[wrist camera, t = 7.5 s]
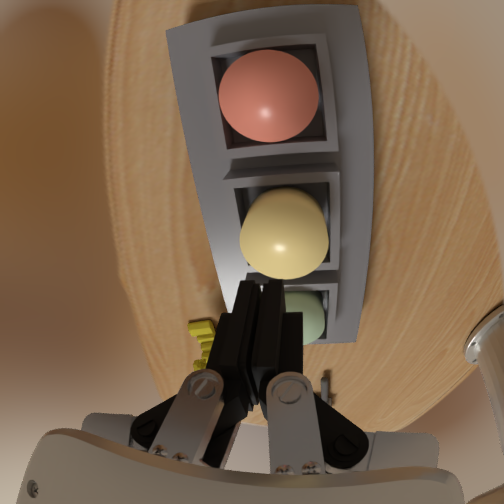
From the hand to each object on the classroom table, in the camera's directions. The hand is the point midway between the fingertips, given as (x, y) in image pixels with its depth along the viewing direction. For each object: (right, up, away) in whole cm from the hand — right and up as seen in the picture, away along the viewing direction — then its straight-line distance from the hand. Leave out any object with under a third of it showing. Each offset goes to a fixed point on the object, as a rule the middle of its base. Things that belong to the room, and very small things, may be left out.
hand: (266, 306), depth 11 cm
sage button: (+3, -2, +11) cm, 12 cm away
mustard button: (+2, +4, +6) cm, 8 cm away
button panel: (+2, +6, +10) cm, 12 cm away
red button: (+1, +11, +3) cm, 12 cm away
